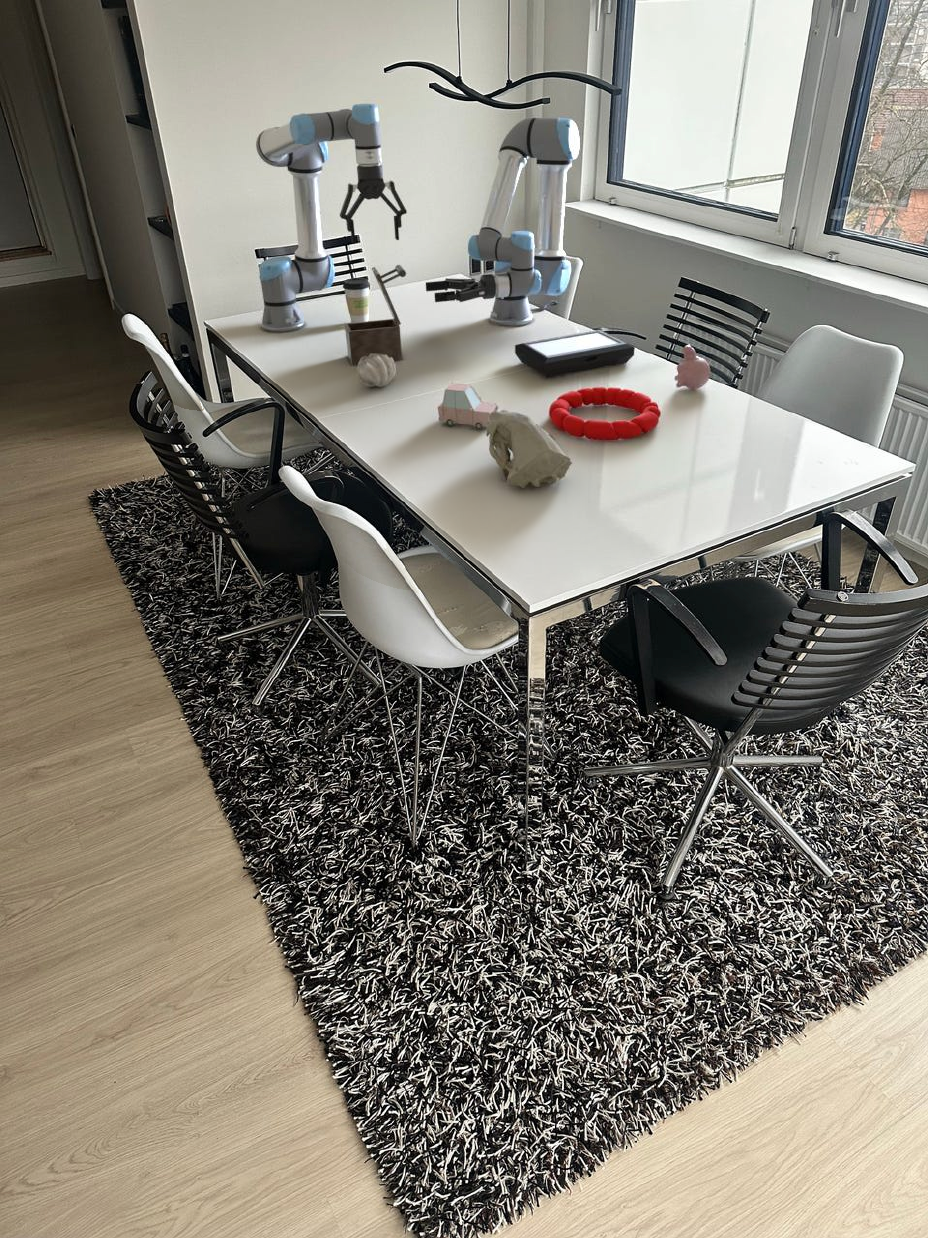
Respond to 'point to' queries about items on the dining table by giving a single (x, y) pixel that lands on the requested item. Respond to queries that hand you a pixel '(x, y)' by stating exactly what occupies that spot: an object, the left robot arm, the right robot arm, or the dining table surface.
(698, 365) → the figurine
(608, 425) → the decorative ring
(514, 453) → the animal skull
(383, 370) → the seashell
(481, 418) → the toy car
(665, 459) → the dining table surface
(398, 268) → the panel with cylinder handle
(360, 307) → the coffee cup
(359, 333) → the chest
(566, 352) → the electronic device
